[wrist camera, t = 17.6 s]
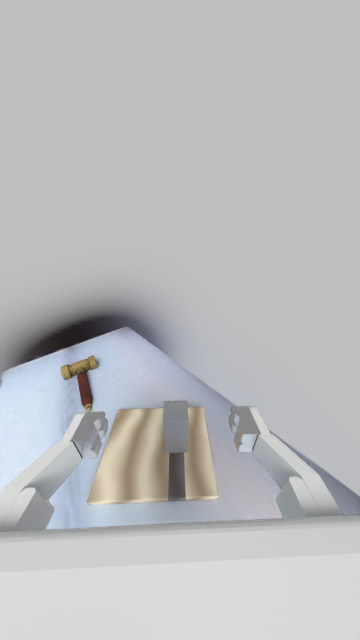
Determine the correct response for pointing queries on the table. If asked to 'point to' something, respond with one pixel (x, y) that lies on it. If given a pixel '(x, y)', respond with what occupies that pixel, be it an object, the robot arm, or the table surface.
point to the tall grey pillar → (175, 426)
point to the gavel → (81, 378)
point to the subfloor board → (153, 462)
